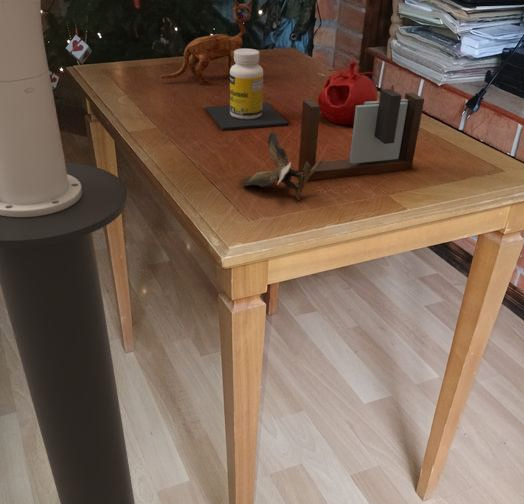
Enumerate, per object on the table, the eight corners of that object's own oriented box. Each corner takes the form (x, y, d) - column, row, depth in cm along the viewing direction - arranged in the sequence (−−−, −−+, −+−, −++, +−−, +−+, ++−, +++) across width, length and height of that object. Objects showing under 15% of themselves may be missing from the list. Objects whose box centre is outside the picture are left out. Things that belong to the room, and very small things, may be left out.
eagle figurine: (326, 178, 80) (273, 149, 83) (320, 143, 73) (263, 113, 77) (291, 222, 79) (238, 190, 82) (281, 190, 72) (225, 157, 76)
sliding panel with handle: (360, 172, 81) (370, 97, 75) (349, 161, 84) (357, 89, 78) (408, 167, 83) (422, 93, 77) (396, 157, 86) (407, 85, 80)
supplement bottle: (222, 114, 102) (222, 50, 96) (246, 108, 105) (247, 45, 99) (245, 122, 99) (246, 57, 93) (269, 115, 102) (271, 51, 96)
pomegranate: (359, 108, 108) (366, 50, 102) (385, 126, 101) (394, 65, 95) (307, 112, 106) (311, 53, 100) (330, 131, 98) (336, 69, 92)
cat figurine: (165, 88, 114) (159, 5, 106) (156, 79, 119) (150, -2, 111) (255, 81, 120) (257, 1, 111) (243, 73, 125) (244, -5, 116)
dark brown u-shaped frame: (305, 180, 82) (311, 107, 76) (297, 172, 84) (302, 100, 79) (411, 169, 86) (424, 98, 81) (401, 161, 89) (413, 92, 83)
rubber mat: (222, 130, 97) (222, 127, 97) (205, 109, 105) (205, 106, 105) (287, 125, 100) (288, 122, 100) (266, 105, 108) (266, 102, 108)
